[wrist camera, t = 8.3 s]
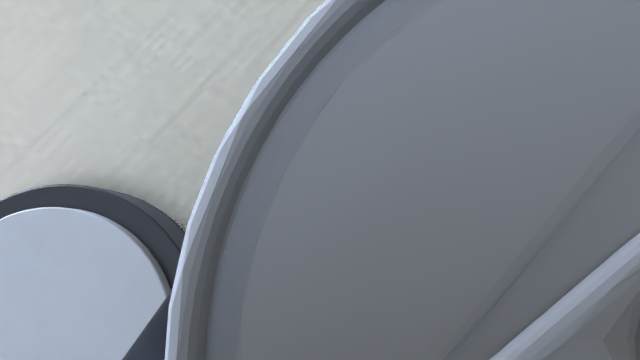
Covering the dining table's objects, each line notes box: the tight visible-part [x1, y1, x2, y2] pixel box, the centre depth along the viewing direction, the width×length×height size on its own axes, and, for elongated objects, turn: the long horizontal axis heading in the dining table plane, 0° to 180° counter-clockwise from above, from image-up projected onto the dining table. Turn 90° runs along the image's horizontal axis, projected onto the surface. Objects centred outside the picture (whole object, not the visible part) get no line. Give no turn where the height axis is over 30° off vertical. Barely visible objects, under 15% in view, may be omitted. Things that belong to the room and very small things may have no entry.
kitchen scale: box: [0, 184, 185, 360], centre depth 20 cm, size 10×10×3 cm
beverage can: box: [165, 0, 640, 360], centre depth 8 cm, size 6×6×12 cm
